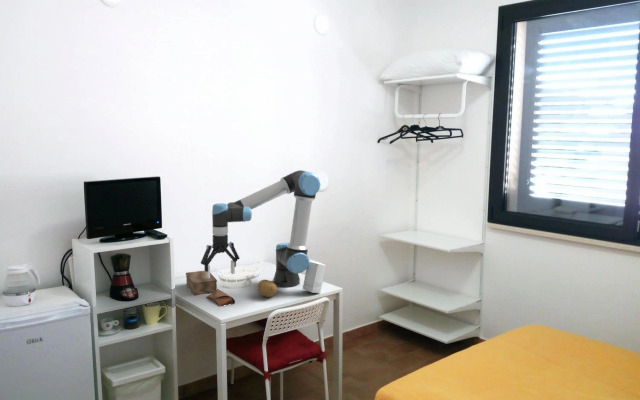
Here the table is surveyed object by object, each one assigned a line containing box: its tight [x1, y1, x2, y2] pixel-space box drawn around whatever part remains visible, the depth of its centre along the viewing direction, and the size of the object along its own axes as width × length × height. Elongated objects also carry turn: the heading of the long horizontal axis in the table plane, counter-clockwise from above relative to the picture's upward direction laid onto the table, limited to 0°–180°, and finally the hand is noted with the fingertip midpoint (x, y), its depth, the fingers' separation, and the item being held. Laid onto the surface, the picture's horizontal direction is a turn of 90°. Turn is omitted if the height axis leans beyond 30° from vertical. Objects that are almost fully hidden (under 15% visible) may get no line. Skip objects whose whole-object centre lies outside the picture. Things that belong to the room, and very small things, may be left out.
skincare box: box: [302, 260, 327, 294], centre depth 267 cm, size 8×7×16 cm
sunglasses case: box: [205, 288, 236, 307], centre depth 255 cm, size 18×7×7 cm, turn 38°
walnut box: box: [185, 270, 218, 297], centre depth 272 cm, size 12×20×7 cm, turn 26°
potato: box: [257, 279, 278, 298], centre depth 261 cm, size 10×14×8 cm
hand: (220, 275), depth 253 cm, fingers open, 13 cm apart
